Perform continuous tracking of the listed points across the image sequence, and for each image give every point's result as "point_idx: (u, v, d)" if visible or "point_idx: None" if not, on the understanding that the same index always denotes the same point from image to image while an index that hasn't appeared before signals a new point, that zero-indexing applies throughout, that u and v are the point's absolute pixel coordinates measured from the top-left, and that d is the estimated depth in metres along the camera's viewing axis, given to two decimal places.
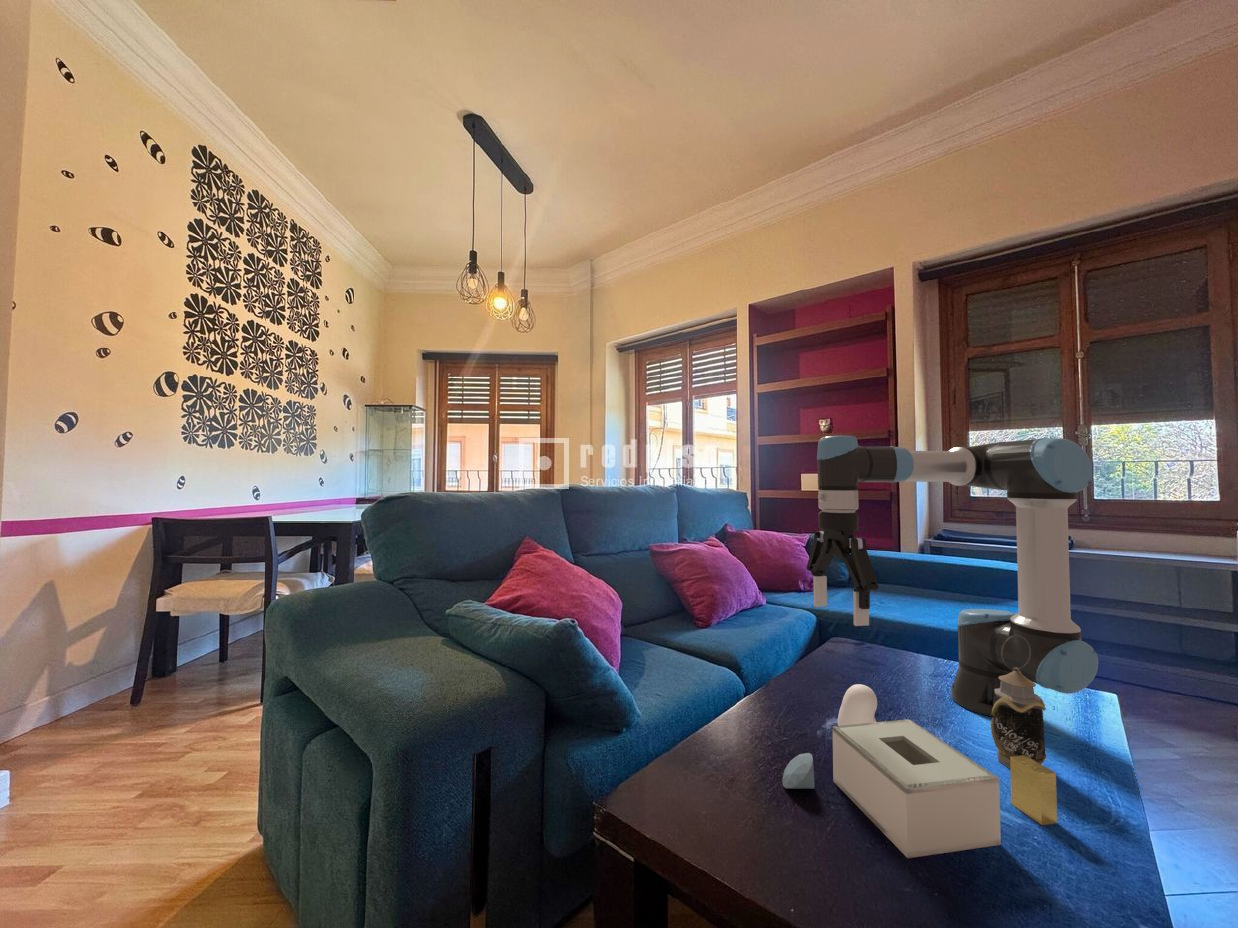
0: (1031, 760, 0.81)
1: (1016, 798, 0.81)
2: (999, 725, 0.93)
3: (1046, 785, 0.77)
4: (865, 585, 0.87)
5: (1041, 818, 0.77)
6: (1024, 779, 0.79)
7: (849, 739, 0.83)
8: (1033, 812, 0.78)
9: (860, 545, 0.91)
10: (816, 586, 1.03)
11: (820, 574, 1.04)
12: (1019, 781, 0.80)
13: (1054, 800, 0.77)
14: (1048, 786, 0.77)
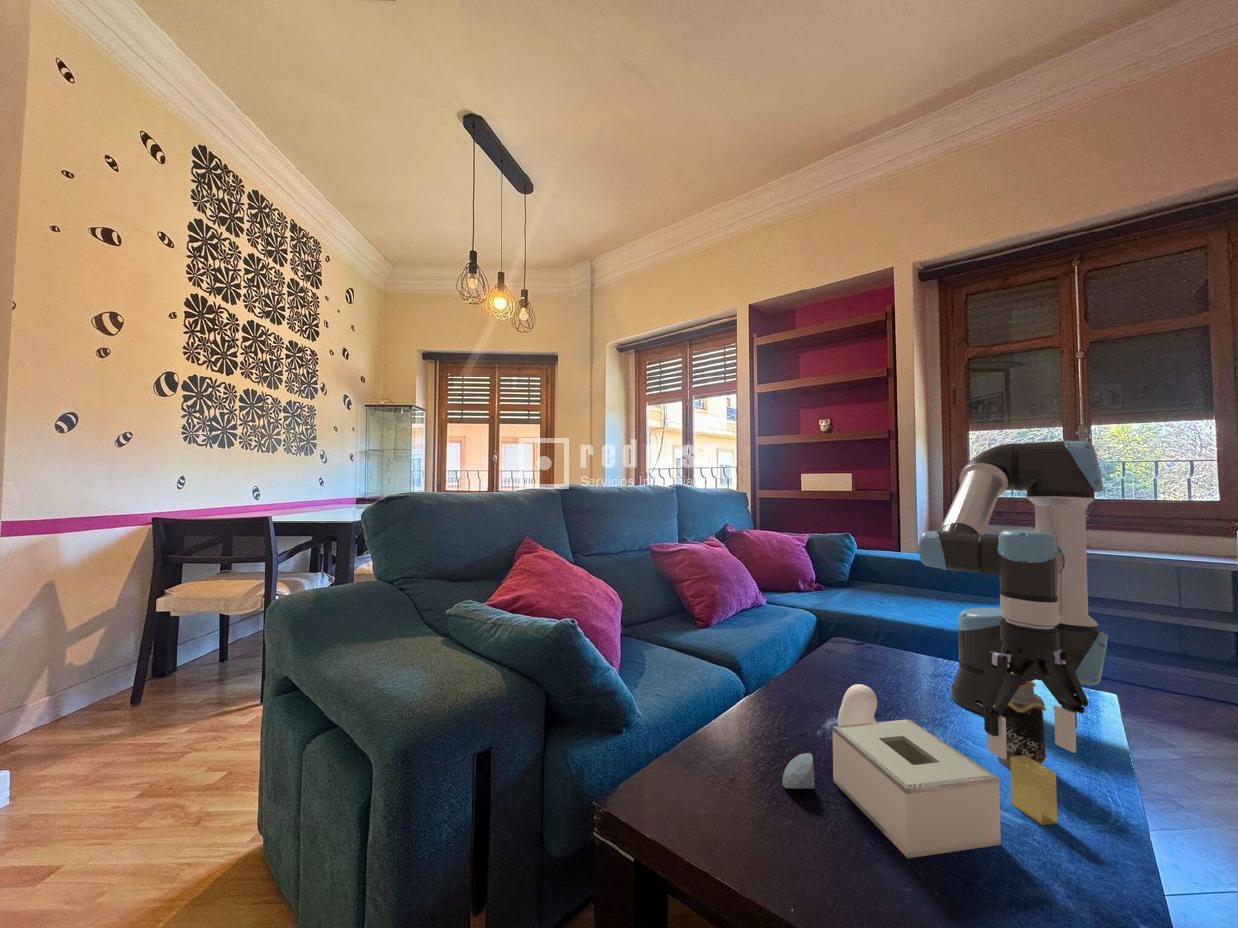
0: (1031, 760, 0.81)
1: (1016, 798, 0.81)
2: None
3: (1046, 785, 0.77)
4: None
5: (1041, 818, 0.77)
6: (1024, 779, 0.79)
7: (849, 739, 0.83)
8: (1033, 812, 0.78)
9: (994, 661, 0.79)
10: (1056, 718, 0.82)
11: (1068, 707, 0.80)
12: (1019, 781, 0.80)
13: (1054, 800, 0.77)
14: (1048, 786, 0.77)
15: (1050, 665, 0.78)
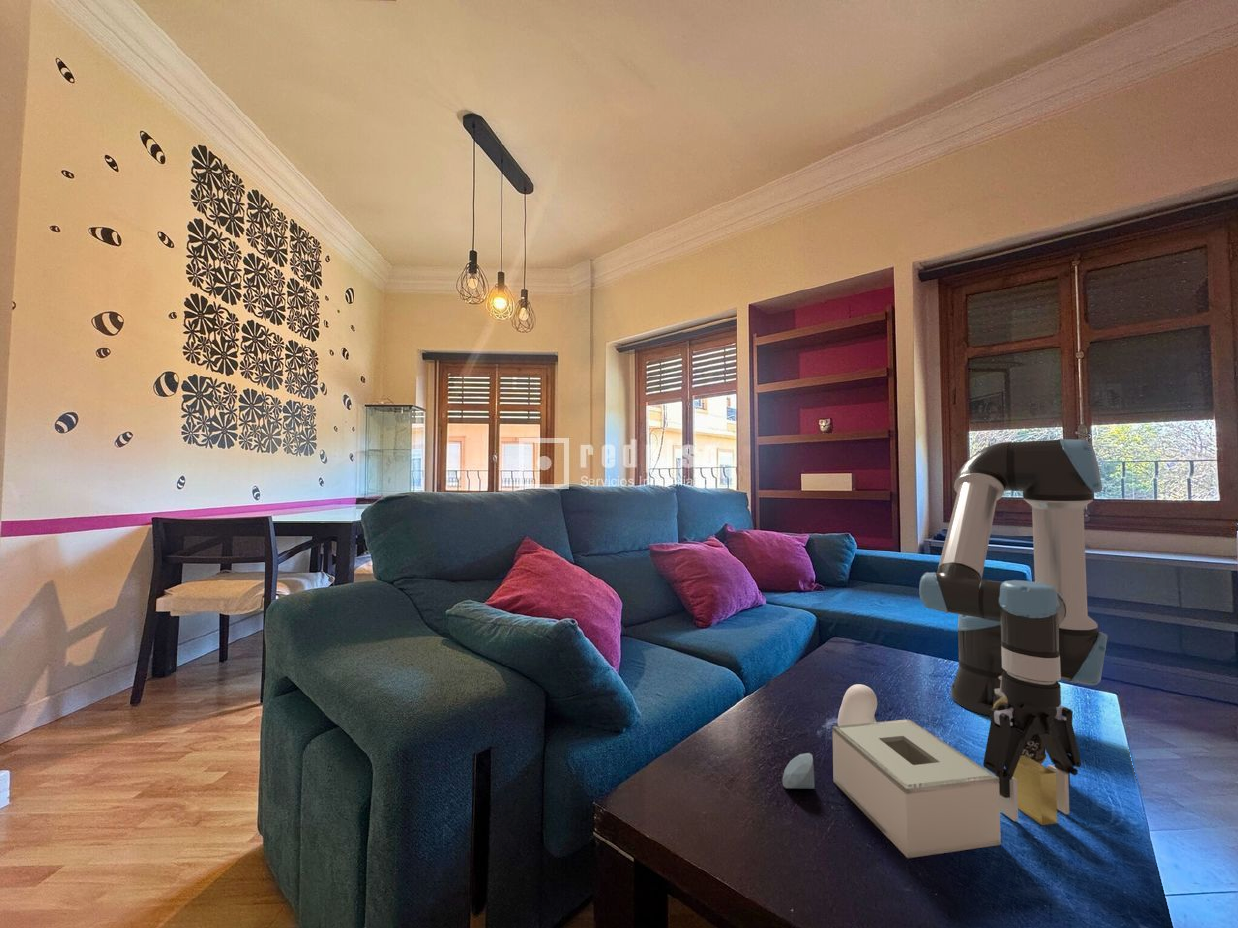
0: (1031, 760, 0.81)
1: None
2: None
3: (1046, 785, 0.77)
4: None
5: (1041, 818, 0.77)
6: (1024, 779, 0.79)
7: (849, 739, 0.83)
8: (1033, 812, 0.78)
9: (996, 720, 0.79)
10: None
11: (1060, 767, 0.80)
12: (1019, 781, 0.80)
13: (1054, 800, 0.77)
14: (1048, 786, 0.77)
15: (1052, 720, 0.78)
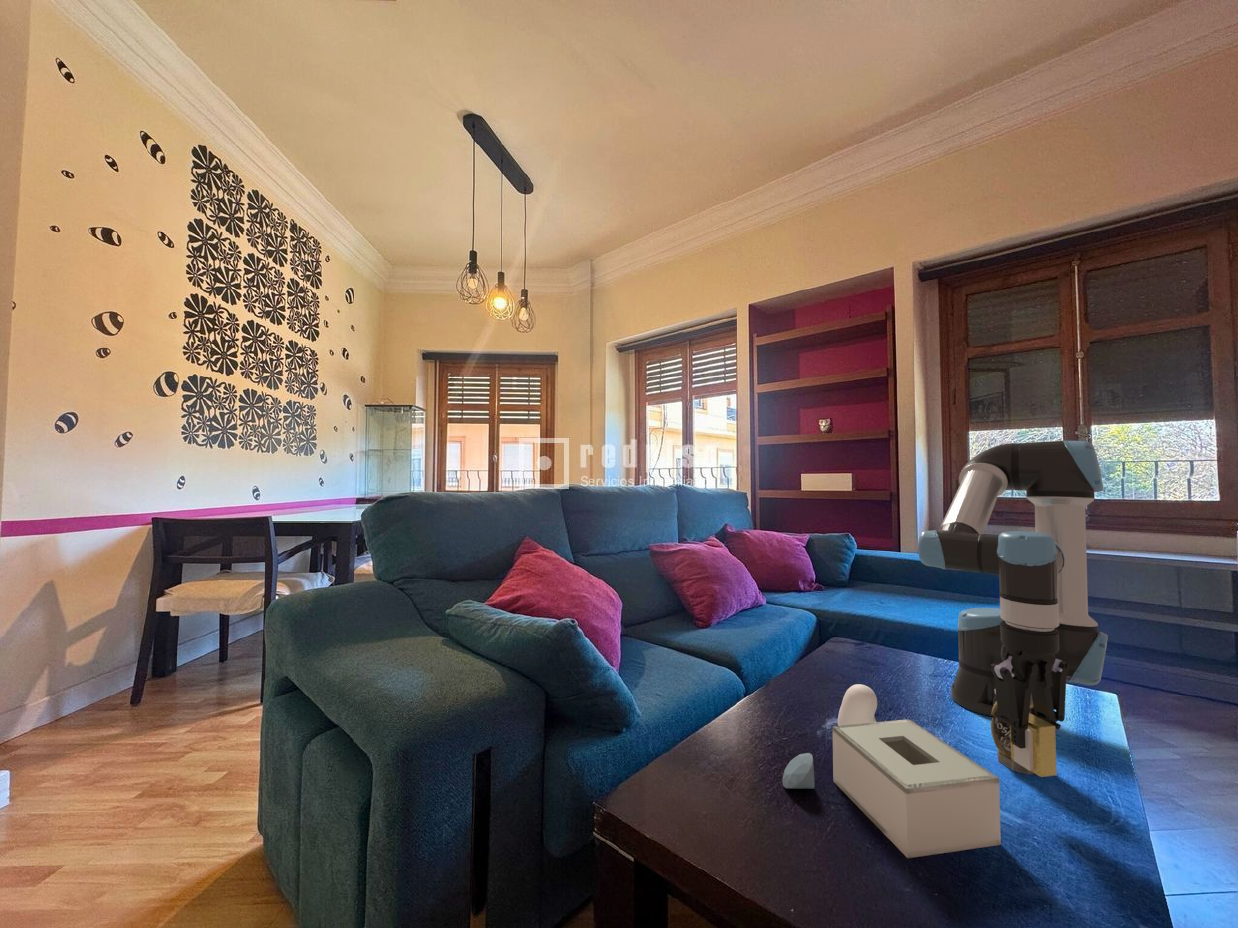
0: (1030, 715, 0.81)
1: None
2: (999, 725, 0.93)
3: (1045, 737, 0.77)
4: None
5: (1040, 770, 0.77)
6: None
7: (849, 739, 0.83)
8: (1033, 765, 0.78)
9: (999, 675, 0.79)
10: None
11: None
12: None
13: (1053, 752, 0.77)
14: (1047, 738, 0.77)
15: (1050, 668, 0.78)
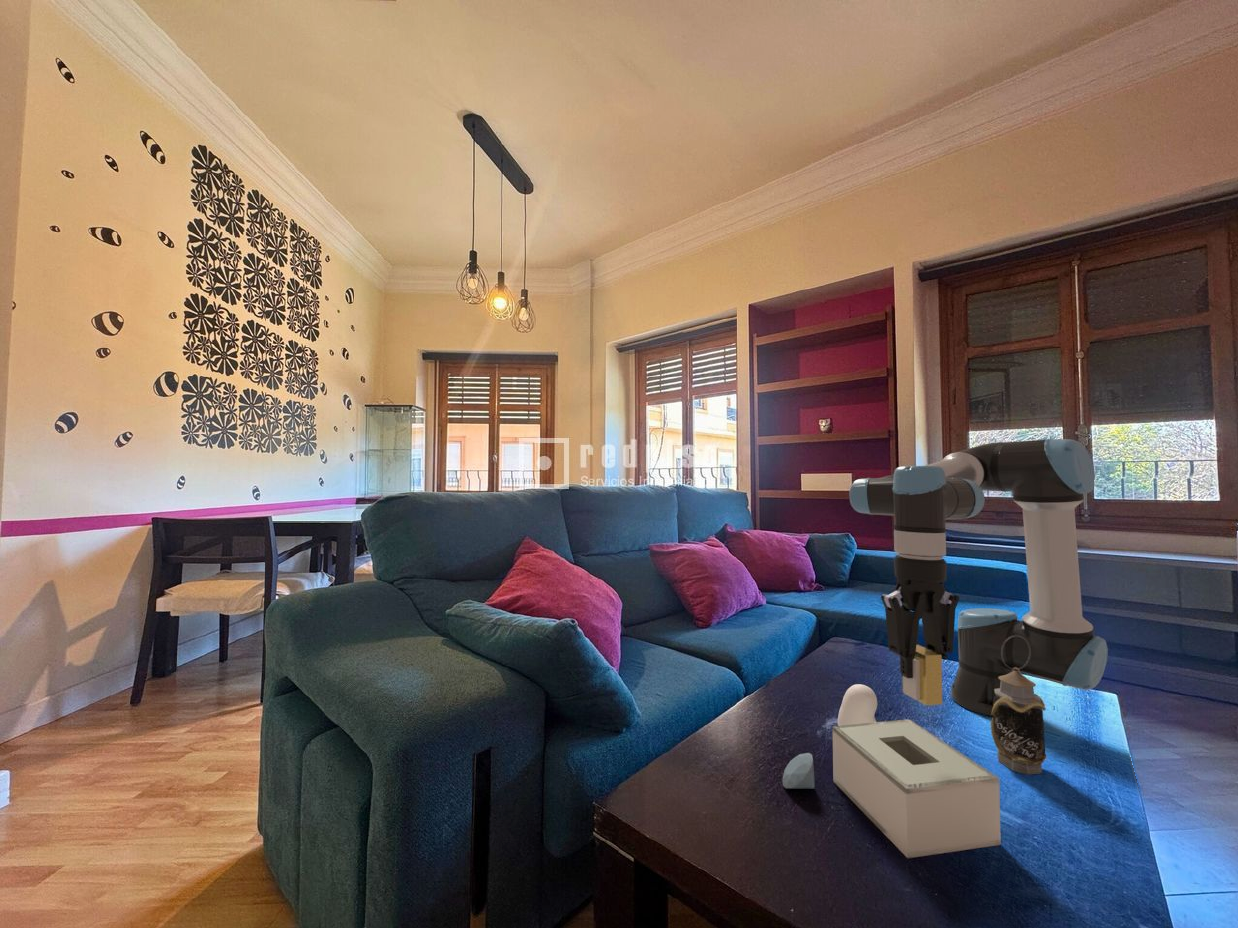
0: (921, 647, 0.81)
1: None
2: (999, 725, 0.93)
3: (931, 666, 0.78)
4: None
5: (926, 699, 0.77)
6: None
7: (849, 739, 0.83)
8: None
9: (888, 605, 0.80)
10: None
11: None
12: None
13: (939, 681, 0.78)
14: (933, 667, 0.78)
15: (937, 598, 0.79)
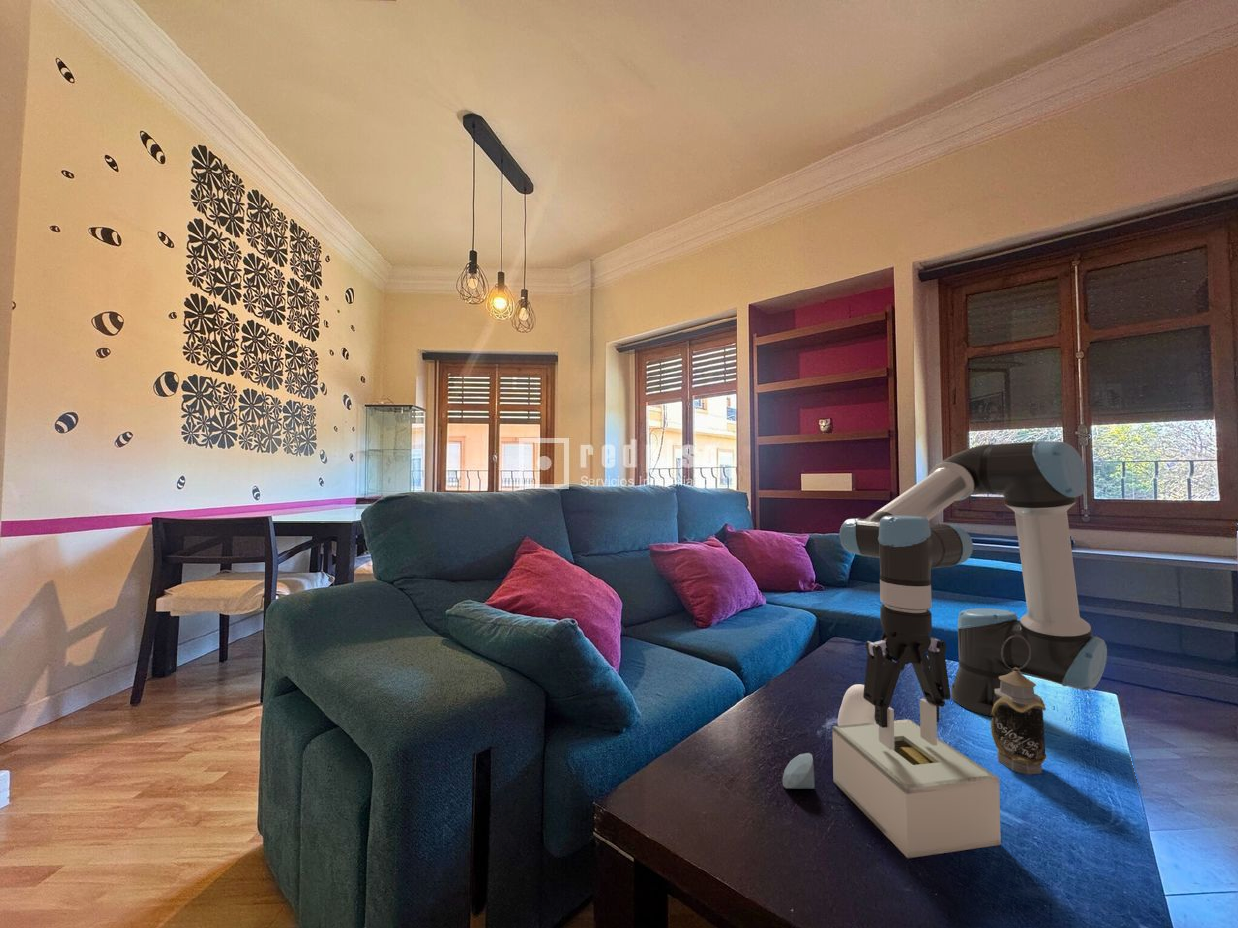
0: (919, 753, 0.81)
1: None
2: (999, 725, 0.93)
3: None
4: None
5: None
6: None
7: (849, 739, 0.83)
8: None
9: (871, 652, 0.80)
10: (921, 711, 0.82)
11: (930, 699, 0.81)
12: None
13: None
14: None
15: (923, 649, 0.79)
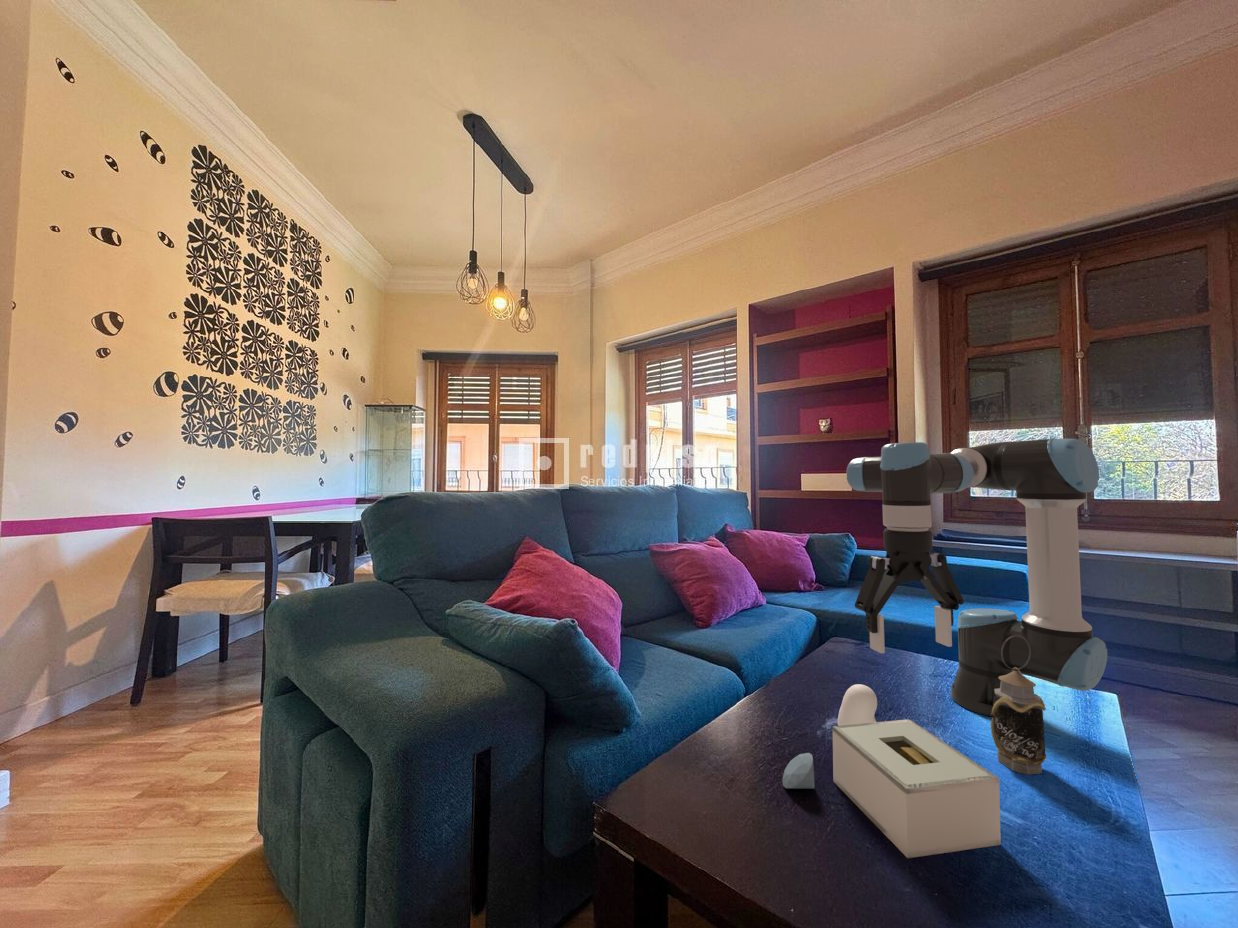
0: (919, 753, 0.81)
1: None
2: (999, 725, 0.93)
3: None
4: None
5: None
6: None
7: (849, 739, 0.83)
8: None
9: (874, 564, 0.84)
10: (936, 618, 0.87)
11: (945, 606, 0.86)
12: None
13: None
14: None
15: (925, 566, 0.84)
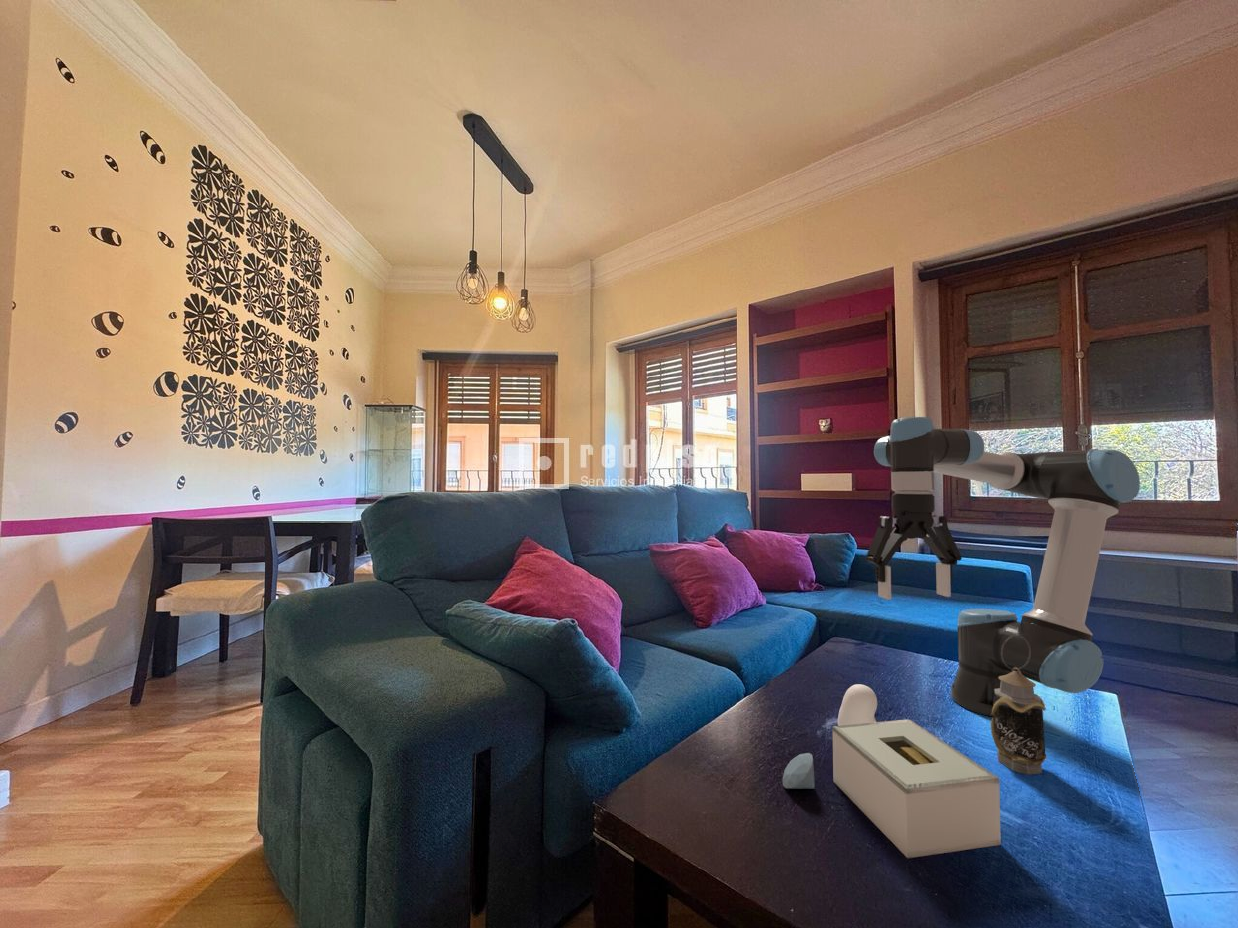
0: (919, 753, 0.81)
1: None
2: (999, 725, 0.93)
3: None
4: None
5: None
6: None
7: (849, 739, 0.83)
8: None
9: (883, 523, 0.96)
10: (937, 572, 0.99)
11: (945, 562, 0.98)
12: None
13: None
14: None
15: (928, 525, 0.96)
